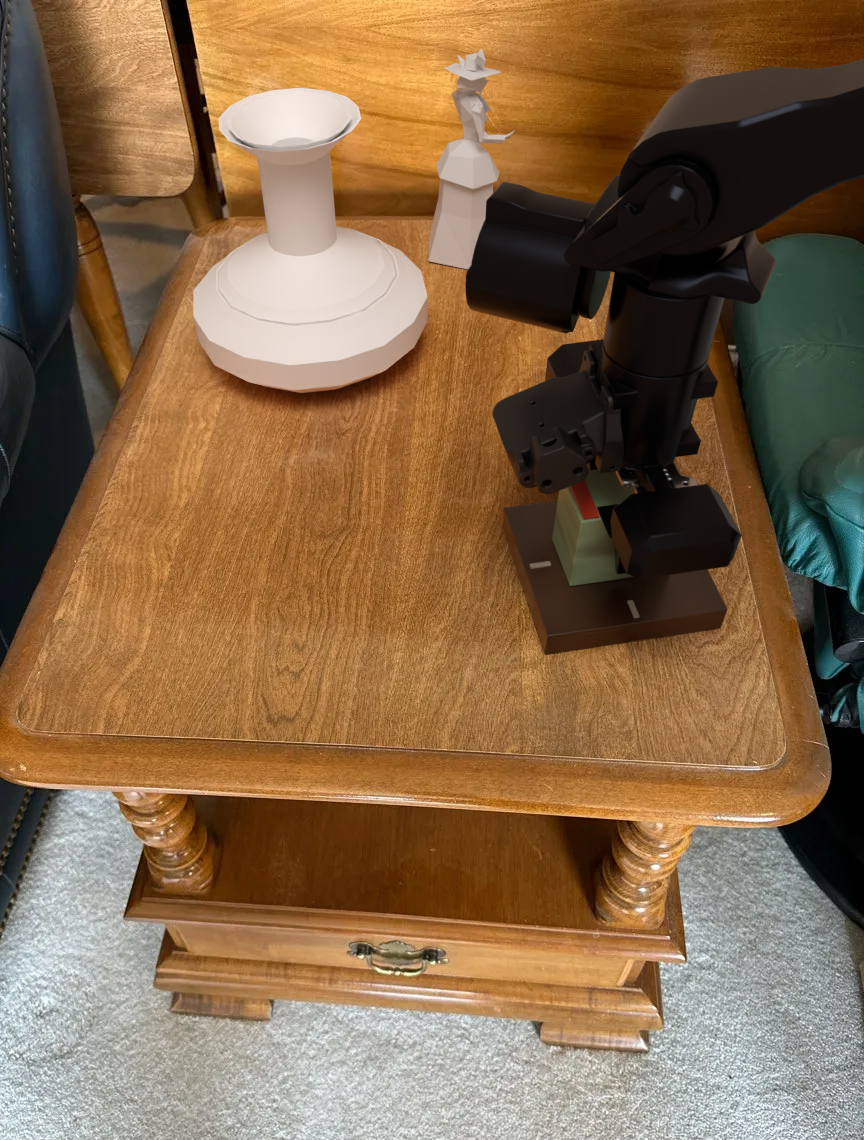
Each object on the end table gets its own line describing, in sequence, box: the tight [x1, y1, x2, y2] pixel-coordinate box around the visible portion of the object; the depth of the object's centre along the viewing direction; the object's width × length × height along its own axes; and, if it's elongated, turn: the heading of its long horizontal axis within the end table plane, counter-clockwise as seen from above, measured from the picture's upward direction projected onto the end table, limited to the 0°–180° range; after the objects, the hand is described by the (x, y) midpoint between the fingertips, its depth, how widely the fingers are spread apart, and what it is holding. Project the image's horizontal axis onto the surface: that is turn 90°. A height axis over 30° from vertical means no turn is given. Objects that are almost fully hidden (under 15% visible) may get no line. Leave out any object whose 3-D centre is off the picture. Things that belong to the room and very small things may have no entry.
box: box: [552, 469, 639, 586], centre depth 63 cm, size 7×4×6 cm, turn 99°
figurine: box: [427, 47, 516, 270], centre depth 86 cm, size 7×8×18 cm
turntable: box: [501, 499, 728, 656], centre depth 66 cm, size 12×12×2 cm
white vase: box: [192, 87, 429, 394], centre depth 77 cm, size 20×20×19 cm
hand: (612, 545), depth 64 cm, fingers closed on box, 4 cm apart
